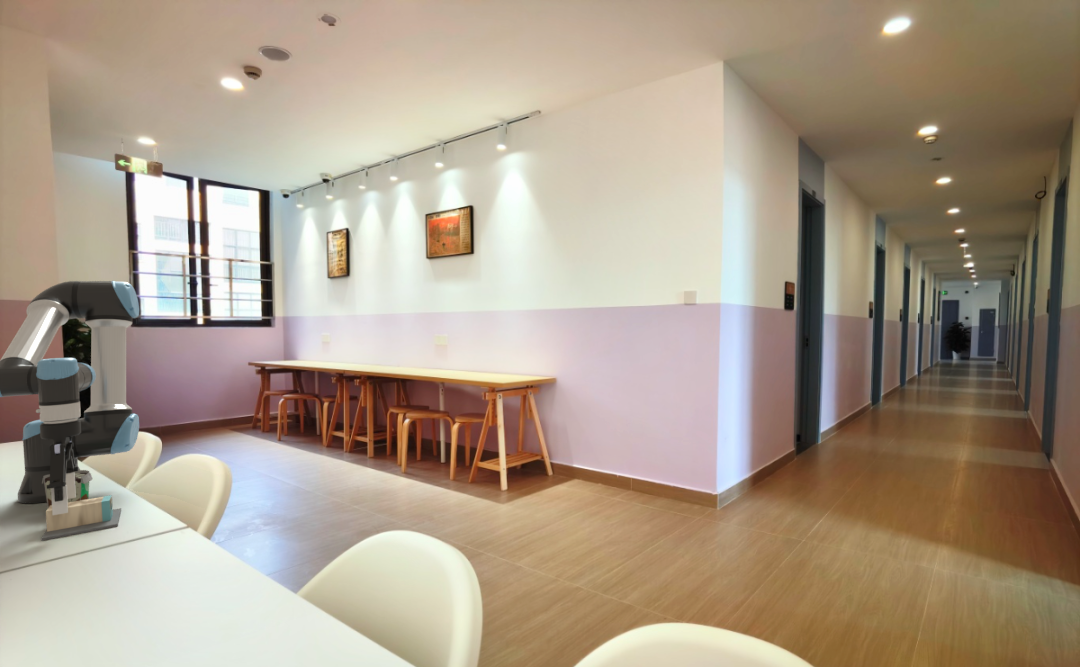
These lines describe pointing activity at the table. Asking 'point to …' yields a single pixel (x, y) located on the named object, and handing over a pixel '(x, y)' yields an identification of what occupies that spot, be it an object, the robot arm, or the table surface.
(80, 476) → the food container
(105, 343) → the robot arm
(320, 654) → the table surface
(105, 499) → the maple block
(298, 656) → the table surface
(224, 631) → the table surface
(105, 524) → the charcoal mat
